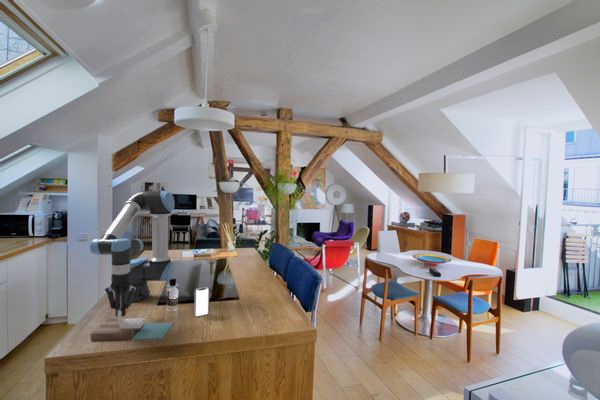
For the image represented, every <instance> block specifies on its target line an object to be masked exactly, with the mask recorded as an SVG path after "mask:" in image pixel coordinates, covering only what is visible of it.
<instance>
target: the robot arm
mask: <svg viewBox="0 0 600 400" xmlns="http://www.w3.org/2000/svg"><path fill="white" fill-rule="evenodd" d="M122 207H123V208H122V209H121V210H120V212H119V213H118V215H116V217H115V218H114V220H113V221H112V223H111V224H110V225H109V227H108V228H107V230H106V231H105V232H104V233H103V235H102V236H101V238H94V239H92V240H91V242H90V244H89V250H90V253H91V254H93V255H97V256H98V255H99V256H100V255H101V256H102V255H105V256H106V255H108V256H109V255H111V270H110V271H111V284H110V286H108V287H106V288H105V289H104V291H105V293H106V294H107V299H108V302H109V305H110V308H111V309H112V310H115V318H116V317H117V319H118V324H120V323H121V322H122V321H123V320H124V319H125V316H126V313H127V309H129V308H130V307H131V304H132V303H135V302H140V301H144V300H148V299H149V298H150V297H151V290H150V288H149V285H148V282H167V281H169V280H170V279H171V278H172V276H173V273H174V269H175V262H174V261H172V260H171V257H170V256H169V216H170V215H172V211H174V209H175V197H174V195H173V193H171V192H170V191H165V190H141V191H138V192H136V193H134V194H133V195H131V196H129V197H128V198H127V199H126V200H125V201H124V203H123V205H122ZM143 211H149V216H151V217H152V220H151V221H152V222H151V224H152V226H151V227H152V228H151V229H152V230H151V235H152V238H151V240H152V241H151V243H152V245H151V247H152V250H151V254H152V255H151V257H150V258H149V259H148V258H147V257H138V258H133V259H131V257H132V256H135V255H137V254H139V253H140V252H141V251H143V249H144V242H143V240H141V239H140V238H131V239H130V238H122V237H123V236H124V234H125V232H126V231H127V230H128V228H129V226H130V225H131V223H132V222H133V220H134V219H135V218H136V216H137V215H139V214H141V212H143Z"/></svg>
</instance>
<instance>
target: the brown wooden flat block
mask: <svg viewBox="0 0 600 400" xmlns="http://www.w3.org/2000/svg"><path fill="white" fill-rule="evenodd" d="M125 319H126V318H124V320H125ZM131 319H133V318H132V317H131ZM139 330H140V328H129V329H119V324H118V318H107V319H106V320H105V321H104V322H103V323H102V324H101V325H99V326H98V327H97V328H96V329H95V330H93V331H92V332H91V333H90V341H92V342H93V341H94V342H95V341H129V340H132V338H133V337H134V336H135V335H136V333H137V332H138V331H139Z"/></svg>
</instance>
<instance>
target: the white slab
mask: <svg viewBox="0 0 600 400" xmlns="http://www.w3.org/2000/svg"><path fill="white" fill-rule="evenodd" d="M124 319H125V320H123V321H122V322H121V323H120V324H119V329H129V328H139V329H141V328H142V326H143V325H144V324H145V323H146V318H144V317H143V318H141V317H140V318H136V317H135V318H133V319H132V318H124Z"/></svg>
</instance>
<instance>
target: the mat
mask: <svg viewBox="0 0 600 400" xmlns="http://www.w3.org/2000/svg"><path fill="white" fill-rule="evenodd" d="M173 324H174V323H173V322H151V323H150V322H148V323H147V322H145V323H144V325H143V326H142V327H141V328H139V330H138V331H137V332H136V333H135V334H134V335H133V336H132V337H131V341H132V340H135V341H137V340H163V339H164V338H165V336H166V335H167V333H168V331H169V330H170V329H171V328H172V326H173Z"/></svg>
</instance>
